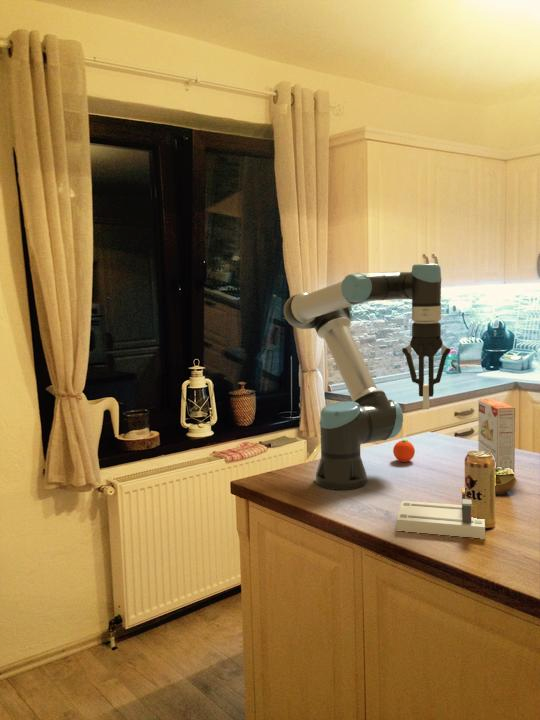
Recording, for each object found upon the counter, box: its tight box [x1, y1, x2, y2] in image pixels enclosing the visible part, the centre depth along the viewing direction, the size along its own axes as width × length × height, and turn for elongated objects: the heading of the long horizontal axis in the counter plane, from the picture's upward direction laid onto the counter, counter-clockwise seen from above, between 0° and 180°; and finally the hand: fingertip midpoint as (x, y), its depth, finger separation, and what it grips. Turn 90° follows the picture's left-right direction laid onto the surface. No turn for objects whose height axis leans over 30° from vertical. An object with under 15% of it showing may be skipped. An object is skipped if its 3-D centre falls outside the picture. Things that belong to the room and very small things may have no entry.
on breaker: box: [461, 498, 473, 522], centre depth 147 cm, size 2×3×4 cm
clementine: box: [392, 439, 416, 463], centre depth 206 cm, size 8×7×7 cm
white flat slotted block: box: [395, 500, 486, 540], centre depth 153 cm, size 20×13×3 cm, turn 72°
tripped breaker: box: [461, 487, 466, 500], centre depth 155 cm, size 2×3×4 cm
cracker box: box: [477, 398, 516, 473], centre depth 193 cm, size 14×6×21 cm, turn 4°
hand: (426, 408), depth 172 cm, fingers closed
